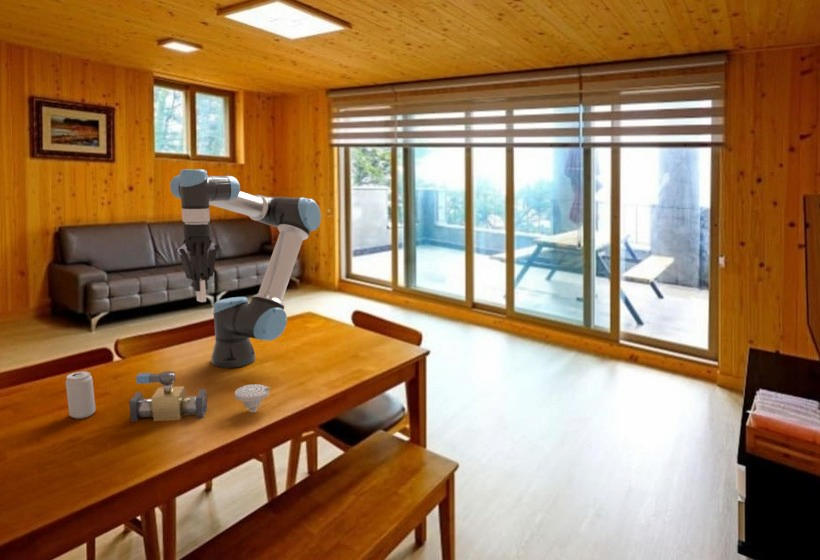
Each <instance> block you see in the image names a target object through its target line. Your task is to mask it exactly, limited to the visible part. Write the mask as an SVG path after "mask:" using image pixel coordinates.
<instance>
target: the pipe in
mask: <svg viewBox="0 0 820 560" xmlns="http://www.w3.org/2000/svg"><path fill="white" fill-rule="evenodd" d="M207 398H208V396H207V389H206V388H204V389H203V388H202V389H200V390H199V391H198V393H197V395H196V396H185V397H182V399H181V405H180V409H181V414H182V415H183V416H187V415H188V416H189V415H190V416H191V415H196V419H200V418H202V419H203V418H204V417H205V416H206V412H207V410H208V399H207Z"/></svg>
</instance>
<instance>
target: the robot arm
mask: <svg viewBox="0 0 820 560" xmlns="http://www.w3.org/2000/svg"><path fill="white" fill-rule="evenodd" d="M169 186H170V187H169V188H170V192H171V194H172V195H173V196H174V197H175V198H177V199H180V201H181V202H180V203H181V216H182V222H183V225H182V233H183V241H182V242H183V245H182V246H180V247H177V248H176V249H175V251H176V253H177V254H178V255H179V258H180V262H181V264H182V268H183V270H184V273H185V277H186V279H188V280H191V281H193V282H192V284H193V286H192V287H193V291H195V293H196V301H197V302H199V303H206V302H207V291H208V288H209V287H208V286H209V285H208V281H209V280H210V278H211V277H213V276H214V272H215V265H216V258H217V252H218V251H219V249H220V245H219V244H216V243H214V242H213V240H212V238H211V235H212V233H211V224H210V221H211V215H210V213H211V212H210V206H213V207H216V208H220V209H224V210H227V211H231V212H233V213H236V214H237V213H238V214H240V215H245V216H248V217H249V218H250V220H253V221H255V222H259V223H262V224H265V225H268V226H271V227H274V228H277V230H278V232H279V234H278V237H277V239H276V240H277V241H276V242H275V245H274V248H273V251H272V254H271V257H270V260H269V262H268V265H267V268H266V271H265V274H264V275H263V278H262V282H261V285H260V287H259V290H258V293H257V294H255V295H252V297H251V300H250V302H249V300H248V298H247V297H246V296H235V297H228V298H223V299H219V300H217V301H215V303H213V324H214V326H213V327H214V336H215V337H214V339H215V343H214V346H213V350H212V353H211V357H210V358H211V364H212V365H213V366H215V367H217V368H226V369H227V368H228V369H231V368H232V369H233V368H240V367H244V366H247V365H251V364H252V363H254V362H255V360H256V352H255V350H254V347H253V344H252V342H251V340H250V338H251V339H256V340H259V341H268V342H270V341H273V340H276V339H277V338H279V337H280V336H281V335H282V334H283V332H284V331H285V329H286V327H287V322H288V319H287V317H288V316H287V312H286V311H285V308H286V307H285V304H284V302H283V299H284V297H285V294H286V290H287V287H288V284H289V282H290V278H291V276H292V274H293V270H294V267H295V265H296V261H297V258H298V255H299V252H300V249H301V247H302V244H303V241H305V240H307V239H309V236H310V233H311V232H313V231H316V230H318V228H319V227H320V225H321V217H322V213H321V210H320V207H319V205H318V203H317V202H316V201H315V200H314V199H313V198H307V197H289V196H287V197H286V196H266V195H262V194H255V195H254V194H250V193H247V192H245V191H241V185H240V182H239V181H238V179H237V178H236V177H234V176H232V175H208V171H207V170H206V169H200V168H199V169H197V168H196V169H195V168H193V169H188V168H185V169H181V170H180V172H179V174H178V175H175V176H173V178H172V179H171V181H170V184H169ZM188 252H189V255H188ZM206 290H207V291H206Z"/></svg>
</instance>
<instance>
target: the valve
mask: <svg viewBox="0 0 820 560" xmlns="http://www.w3.org/2000/svg"><path fill="white" fill-rule="evenodd" d="M182 397H186V389H185V386H174V383H171V384H166V385H164V384H162V387H158V388H157V389H156V391H155V393H153V394H152V396H151V399H152V408H153V419H152V420H153V422H162V421H163V422H165V421H180V420H181V419H182V417H183V416H184V415H182V414H181V409H180V405H181V399H182Z"/></svg>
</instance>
